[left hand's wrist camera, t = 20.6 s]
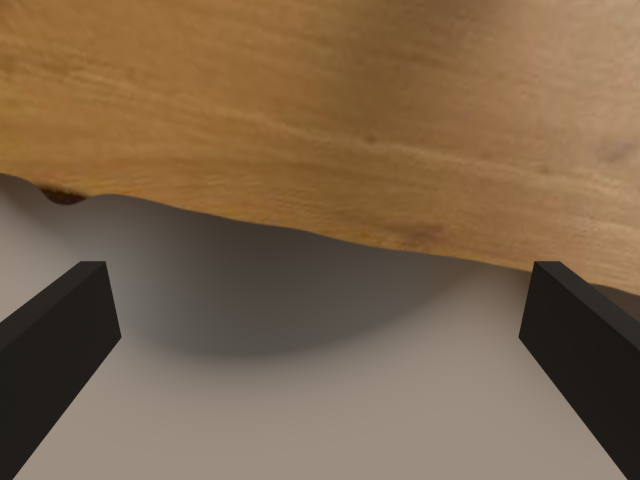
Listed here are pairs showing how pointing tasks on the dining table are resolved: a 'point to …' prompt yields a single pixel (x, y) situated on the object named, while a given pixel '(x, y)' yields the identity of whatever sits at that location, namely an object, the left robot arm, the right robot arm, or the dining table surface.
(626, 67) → the dining table surface
